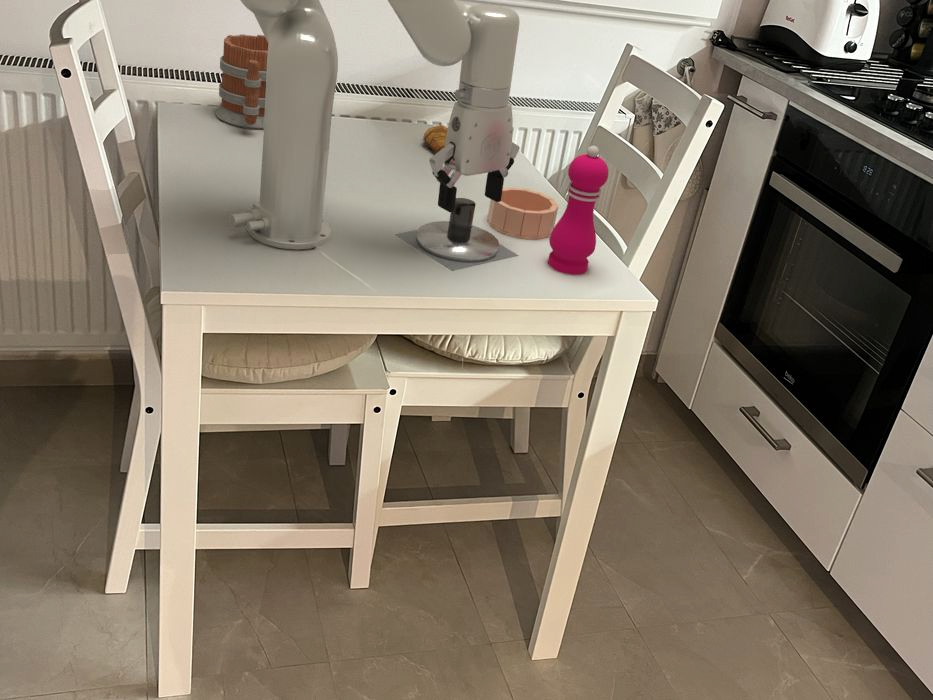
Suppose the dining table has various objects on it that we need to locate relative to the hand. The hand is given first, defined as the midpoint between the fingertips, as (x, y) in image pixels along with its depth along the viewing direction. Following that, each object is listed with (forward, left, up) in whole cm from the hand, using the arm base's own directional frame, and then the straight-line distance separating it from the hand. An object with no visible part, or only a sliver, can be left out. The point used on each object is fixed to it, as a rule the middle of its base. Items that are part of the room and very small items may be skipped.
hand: (469, 204), depth 155 cm
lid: (-1, +1, -7) cm, 7 cm away
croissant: (+28, +40, -8) cm, 49 cm away
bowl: (+15, +3, -7) cm, 17 cm away
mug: (-1, +62, -8) cm, 63 cm away
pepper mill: (+11, -12, -8) cm, 18 cm away
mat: (-1, 0, -7) cm, 7 cm away
